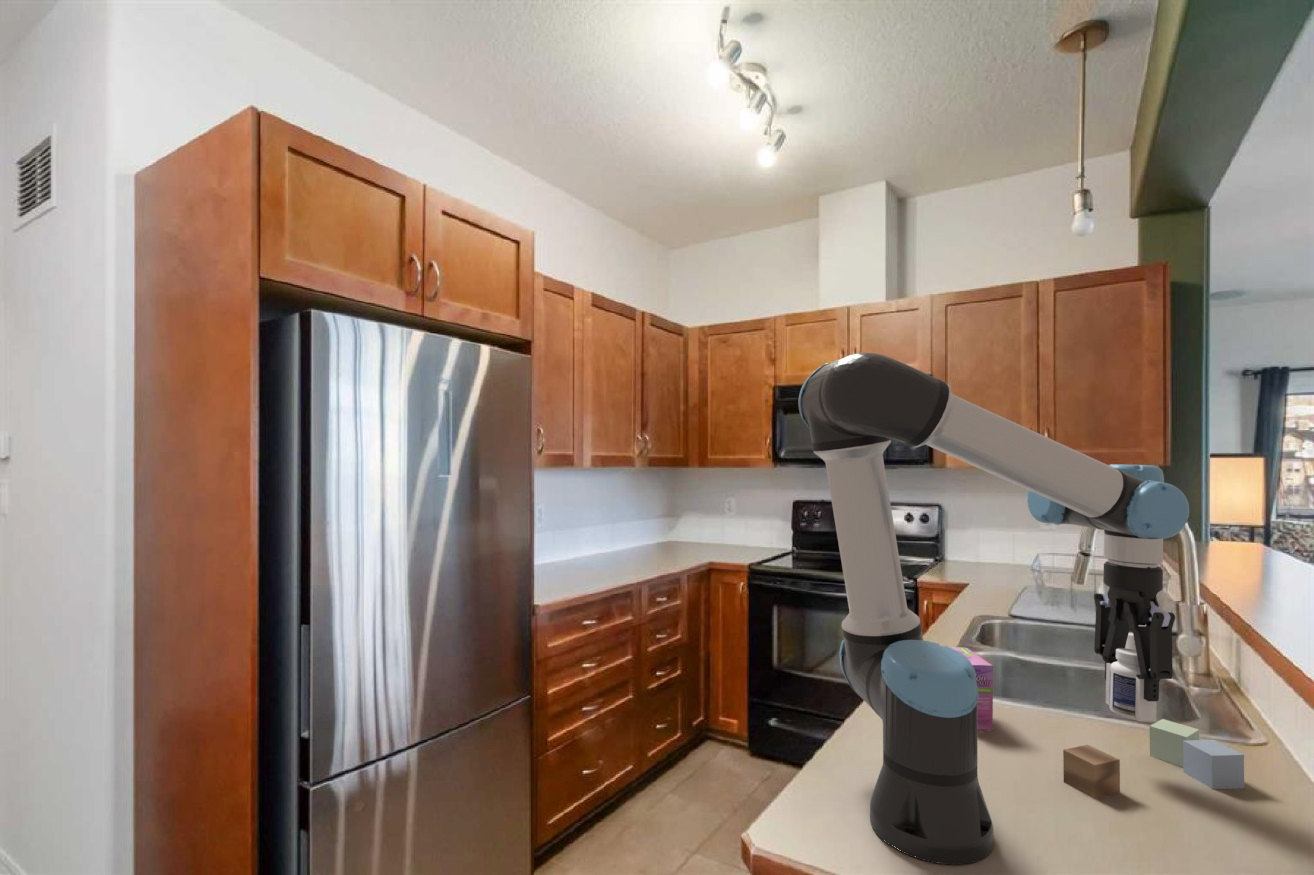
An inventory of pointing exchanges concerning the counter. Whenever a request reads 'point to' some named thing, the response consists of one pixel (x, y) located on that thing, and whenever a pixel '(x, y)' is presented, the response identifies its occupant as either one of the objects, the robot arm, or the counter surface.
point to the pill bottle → (1124, 683)
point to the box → (981, 688)
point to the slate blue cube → (1213, 764)
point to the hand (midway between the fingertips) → (1130, 711)
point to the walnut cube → (1091, 771)
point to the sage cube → (1170, 740)
